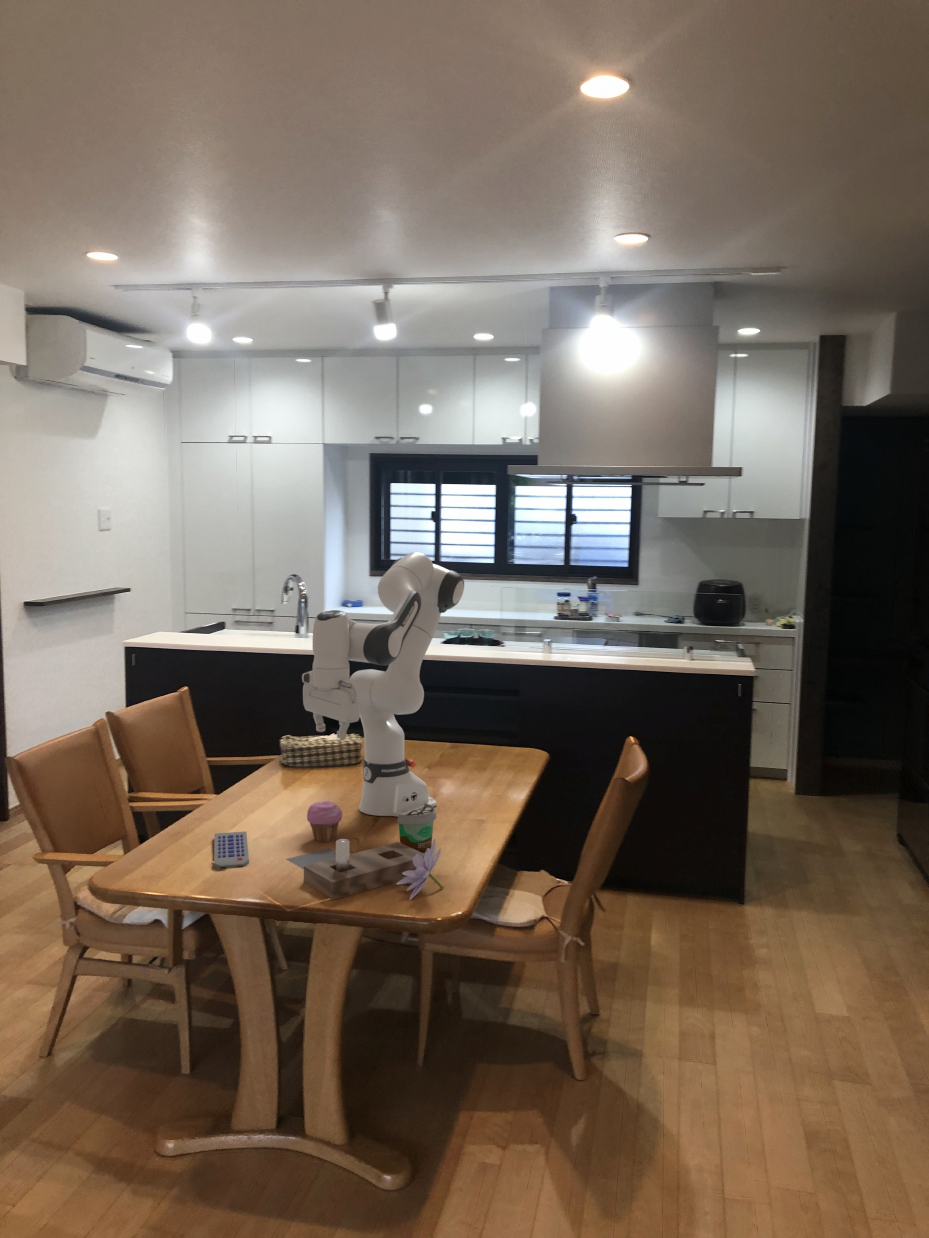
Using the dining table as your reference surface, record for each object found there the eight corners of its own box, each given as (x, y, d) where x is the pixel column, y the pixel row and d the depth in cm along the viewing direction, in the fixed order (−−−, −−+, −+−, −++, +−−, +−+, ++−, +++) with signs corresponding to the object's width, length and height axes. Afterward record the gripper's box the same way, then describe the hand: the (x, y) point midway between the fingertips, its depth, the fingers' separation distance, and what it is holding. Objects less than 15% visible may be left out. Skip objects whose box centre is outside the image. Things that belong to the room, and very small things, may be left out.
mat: (329, 849, 235) (329, 848, 235) (356, 863, 226) (356, 862, 226) (286, 860, 228) (286, 858, 228) (312, 875, 218) (312, 873, 218)
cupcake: (331, 847, 237) (331, 808, 236) (300, 843, 240) (300, 804, 239) (347, 836, 245) (347, 798, 244) (317, 832, 248) (317, 795, 247)
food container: (417, 859, 229) (418, 819, 228) (396, 854, 233) (397, 814, 232) (445, 845, 240) (446, 806, 239) (425, 840, 243) (425, 802, 242)
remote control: (246, 838, 245) (246, 830, 244) (249, 869, 223) (249, 860, 223) (214, 840, 243) (214, 832, 242) (213, 872, 221) (213, 862, 221)
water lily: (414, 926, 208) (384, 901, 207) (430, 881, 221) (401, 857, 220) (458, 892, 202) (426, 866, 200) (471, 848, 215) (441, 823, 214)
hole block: (397, 858, 230) (398, 841, 230) (428, 872, 221) (428, 855, 221) (303, 883, 214) (303, 866, 213) (332, 900, 204) (332, 882, 204)
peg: (344, 880, 215) (344, 838, 214) (352, 885, 213) (352, 841, 212) (333, 884, 213) (333, 840, 212) (340, 888, 211) (340, 844, 210)
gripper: (366, 683, 224) (366, 740, 226) (320, 671, 240) (320, 725, 241) (343, 685, 220) (343, 744, 221) (298, 673, 236) (298, 729, 237)
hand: (331, 734), depth 231 cm, fingers open, 8 cm apart
